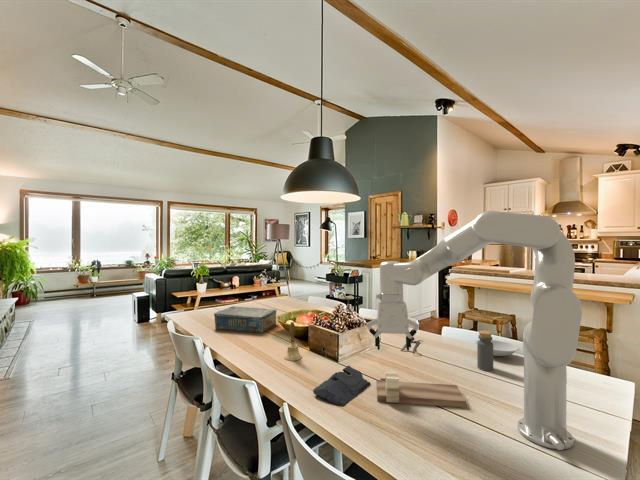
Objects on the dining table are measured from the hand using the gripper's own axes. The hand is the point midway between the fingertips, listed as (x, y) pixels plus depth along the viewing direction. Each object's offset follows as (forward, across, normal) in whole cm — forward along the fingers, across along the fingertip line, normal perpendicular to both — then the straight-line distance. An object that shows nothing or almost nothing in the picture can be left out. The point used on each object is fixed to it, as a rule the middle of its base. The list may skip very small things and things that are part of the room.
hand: (393, 348), depth 105 cm
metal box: (+16, -83, +76) cm, 113 cm away
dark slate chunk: (+18, -18, +5) cm, 26 cm away
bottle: (+18, +39, +31) cm, 53 cm away
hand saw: (+18, -2, +22) cm, 28 cm away
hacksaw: (+18, +14, +53) cm, 58 cm away
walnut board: (+17, +8, +4) cm, 19 cm away
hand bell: (+16, -43, +32) cm, 56 cm away
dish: (+18, +49, +46) cm, 70 cm away
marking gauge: (+17, -1, +2) cm, 17 cm away
